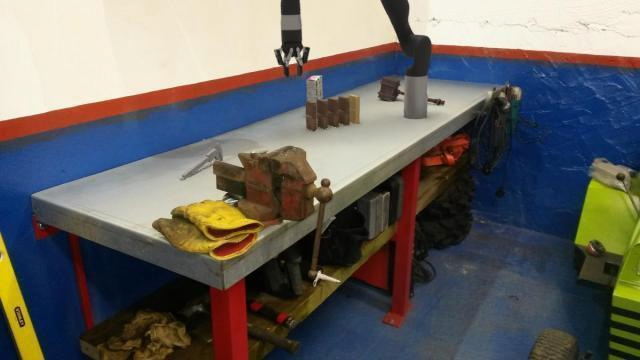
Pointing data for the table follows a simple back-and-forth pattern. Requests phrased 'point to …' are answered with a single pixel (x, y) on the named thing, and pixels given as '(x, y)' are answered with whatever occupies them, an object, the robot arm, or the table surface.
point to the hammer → (396, 90)
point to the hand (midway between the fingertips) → (293, 76)
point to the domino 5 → (354, 108)
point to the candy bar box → (314, 88)
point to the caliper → (205, 161)
